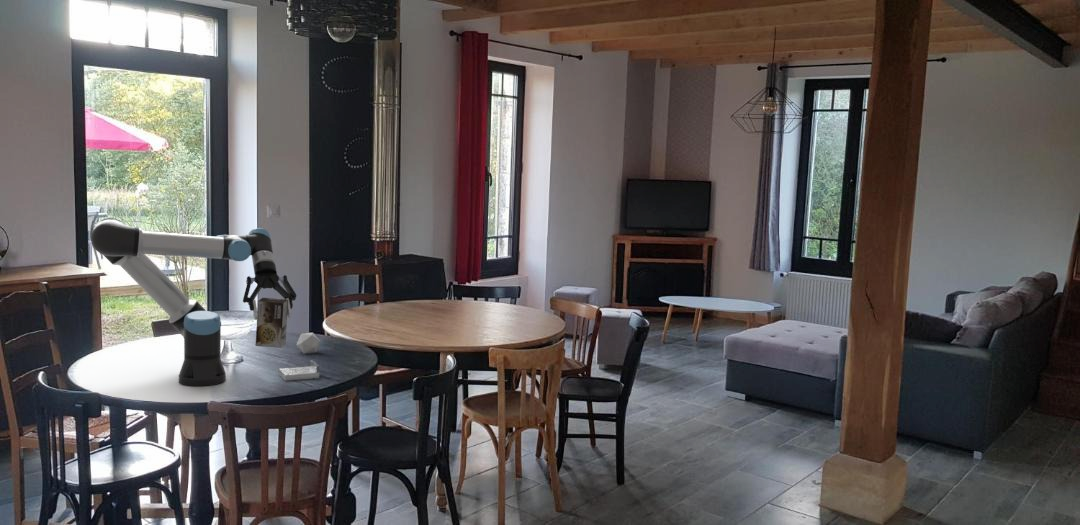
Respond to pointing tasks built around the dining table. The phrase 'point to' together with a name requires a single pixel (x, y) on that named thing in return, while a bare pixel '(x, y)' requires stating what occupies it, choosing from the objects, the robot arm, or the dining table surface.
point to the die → (308, 343)
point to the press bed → (300, 372)
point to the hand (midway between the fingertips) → (273, 316)
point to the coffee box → (271, 322)
